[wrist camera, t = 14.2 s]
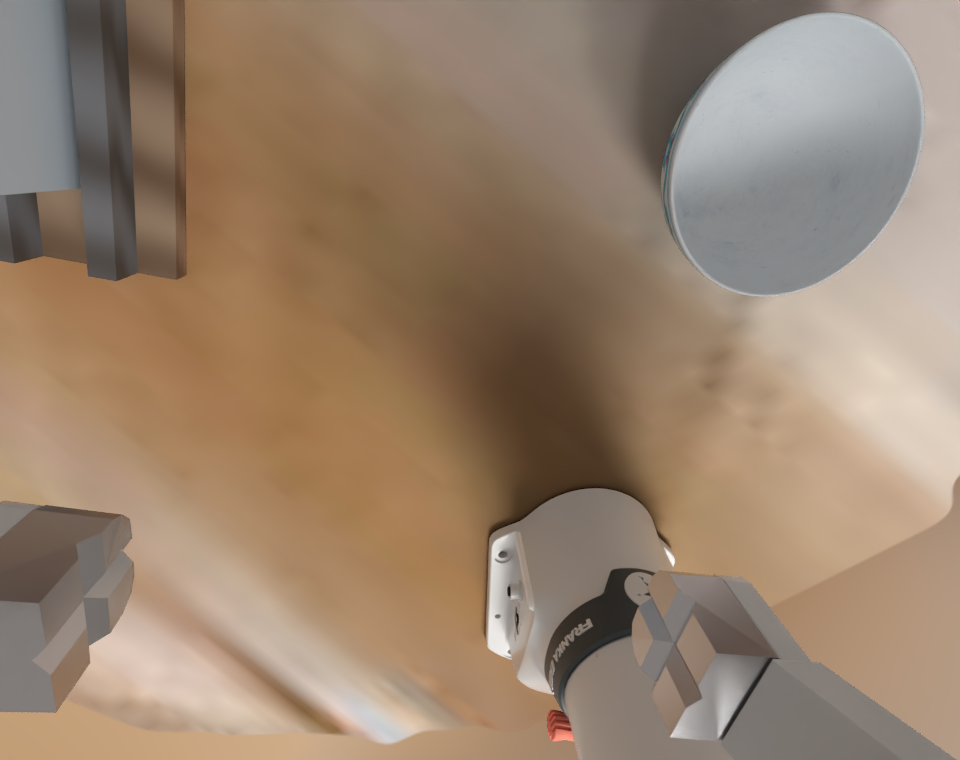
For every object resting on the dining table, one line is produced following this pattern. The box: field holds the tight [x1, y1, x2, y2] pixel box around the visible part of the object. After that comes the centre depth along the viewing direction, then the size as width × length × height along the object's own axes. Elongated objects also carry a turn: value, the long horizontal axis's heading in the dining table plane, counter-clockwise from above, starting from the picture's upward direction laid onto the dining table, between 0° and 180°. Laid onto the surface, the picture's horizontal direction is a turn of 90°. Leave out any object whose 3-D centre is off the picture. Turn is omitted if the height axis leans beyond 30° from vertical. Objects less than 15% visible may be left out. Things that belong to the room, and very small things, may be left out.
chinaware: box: [661, 12, 925, 297], centre depth 32 cm, size 15×15×8 cm
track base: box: [0, 0, 186, 281], centre depth 27 cm, size 26×12×4 cm, turn 168°
